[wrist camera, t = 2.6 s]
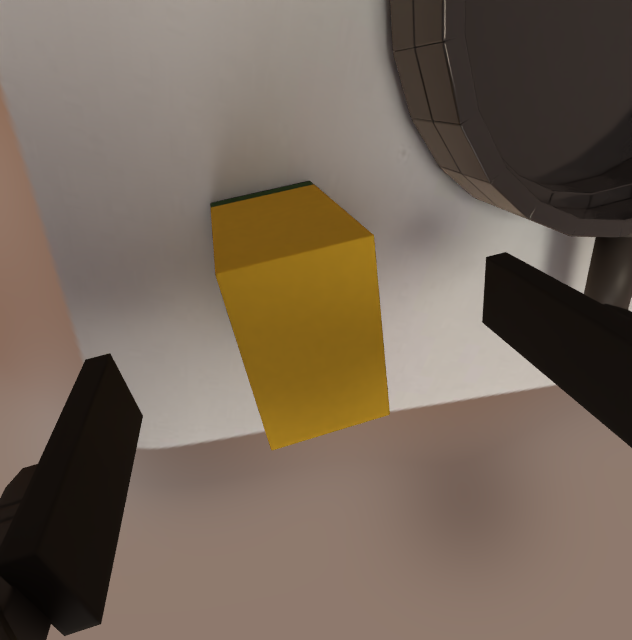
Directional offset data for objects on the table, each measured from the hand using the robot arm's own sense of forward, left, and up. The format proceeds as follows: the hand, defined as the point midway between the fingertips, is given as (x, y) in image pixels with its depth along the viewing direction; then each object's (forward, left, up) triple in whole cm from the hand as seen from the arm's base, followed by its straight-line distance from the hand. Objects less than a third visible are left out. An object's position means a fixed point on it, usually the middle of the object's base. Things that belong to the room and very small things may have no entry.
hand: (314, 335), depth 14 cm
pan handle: (+4, +16, -4) cm, 17 cm away
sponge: (0, 0, -7) cm, 7 cm away
